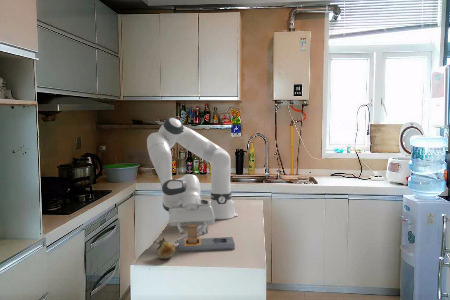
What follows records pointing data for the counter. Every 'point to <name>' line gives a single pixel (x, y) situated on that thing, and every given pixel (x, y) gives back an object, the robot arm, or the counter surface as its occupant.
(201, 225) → the caliper
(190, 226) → the peg
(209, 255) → the counter surface
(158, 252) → the onion
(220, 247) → the rail
